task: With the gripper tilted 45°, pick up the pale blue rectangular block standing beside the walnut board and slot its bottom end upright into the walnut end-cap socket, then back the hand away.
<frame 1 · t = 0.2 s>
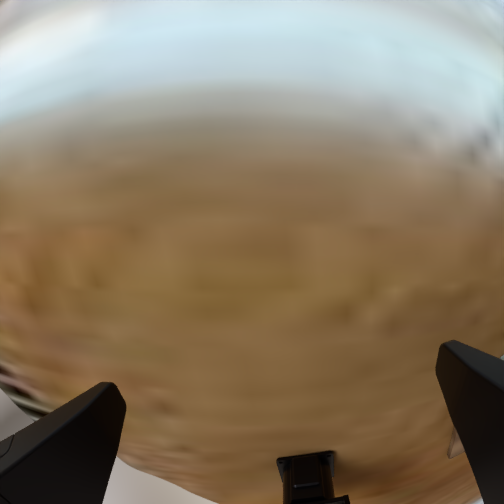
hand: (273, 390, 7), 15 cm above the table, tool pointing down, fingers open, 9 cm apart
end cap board: (502, 406, 26), on the table
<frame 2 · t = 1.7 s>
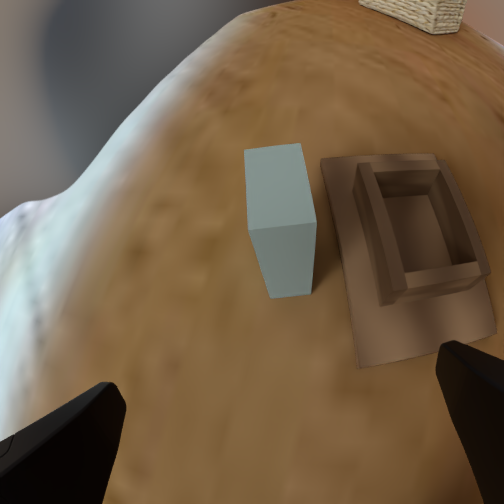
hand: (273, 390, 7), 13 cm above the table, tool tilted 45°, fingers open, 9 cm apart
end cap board: (408, 244, 22), on the table
storage basket: (408, 17, 45), on the table
pale blue rectangular block: (287, 265, 23), on the table
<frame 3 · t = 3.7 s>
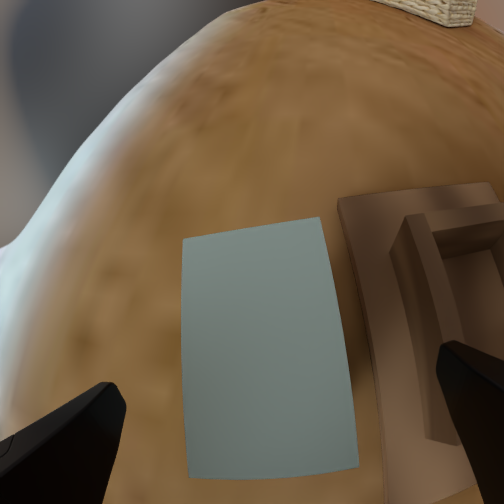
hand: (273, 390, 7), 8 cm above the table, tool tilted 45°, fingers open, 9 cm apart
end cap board: (466, 328, 13), on the table
storage basket: (416, 9, 38), on the table
pale blue rectangular block: (290, 379, 14), on the table
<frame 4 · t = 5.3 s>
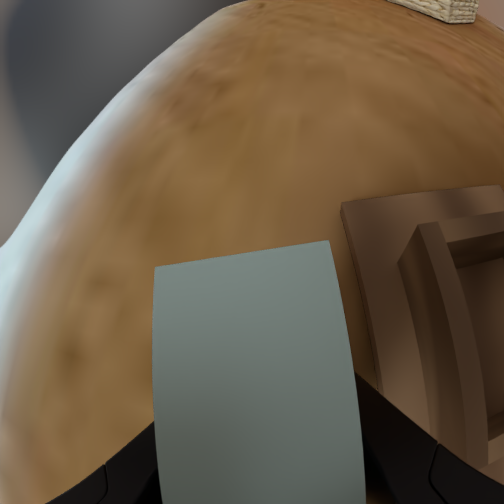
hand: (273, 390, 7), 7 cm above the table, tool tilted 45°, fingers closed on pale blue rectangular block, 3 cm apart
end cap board: (477, 343, 12), on the table
storage basket: (417, 6, 36), on the table
pale blue rectangular block: (289, 400, 12), on the table, touching gripper
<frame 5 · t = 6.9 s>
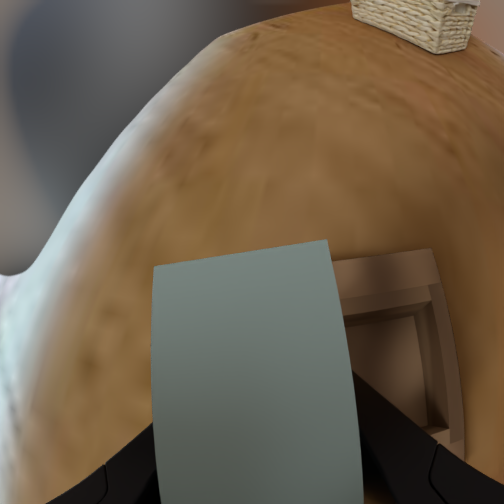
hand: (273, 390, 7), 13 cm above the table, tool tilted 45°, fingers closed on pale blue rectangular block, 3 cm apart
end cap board: (379, 380, 18), on the table
storage basket: (409, 32, 41), on the table
pale blue rectangular block: (288, 400, 12), point 7 cm above the table, touching gripper
when the fingers open (9 cm above the table, at t = 8.7 s): pale blue rectangular block stays where it is, resting on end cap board.
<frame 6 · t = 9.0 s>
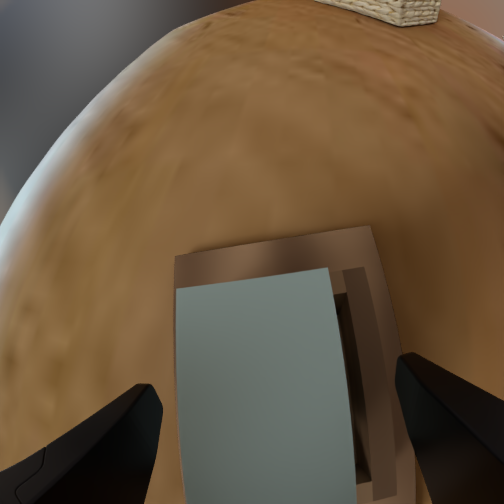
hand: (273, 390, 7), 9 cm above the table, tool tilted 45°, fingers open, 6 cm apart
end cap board: (291, 399, 14), on the table
storage basket: (374, 9, 39), on the table
pale blue rectangular block: (290, 401, 13), point 1 cm above the table, touching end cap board
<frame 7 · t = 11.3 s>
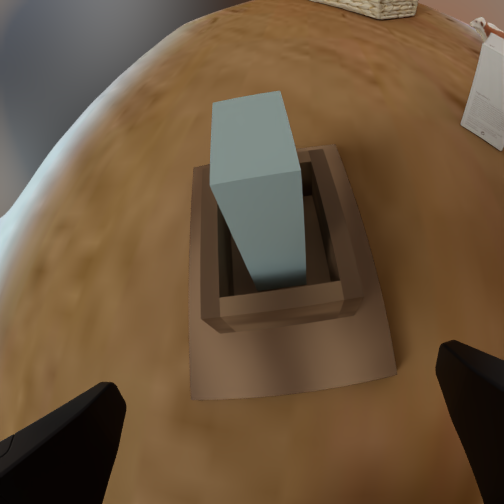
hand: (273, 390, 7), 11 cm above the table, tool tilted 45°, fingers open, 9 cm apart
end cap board: (278, 257, 20), on the table
storage basket: (360, 6, 44), on the table
bull figurine: (496, 64, 30), on the table
pale blue rectangular block: (277, 251, 19), point 1 cm above the table, touching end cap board
small box: (485, 125, 23), on the table
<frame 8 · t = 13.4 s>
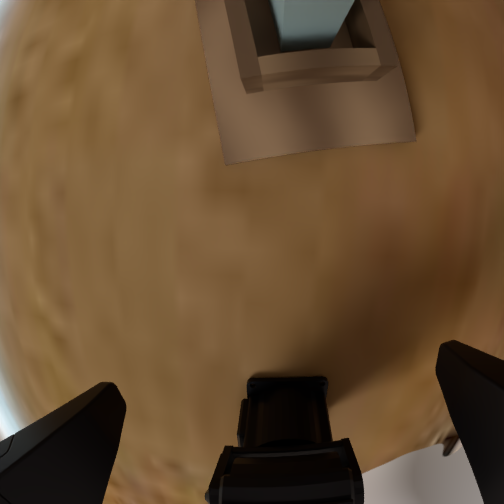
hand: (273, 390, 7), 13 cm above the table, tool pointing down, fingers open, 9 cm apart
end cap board: (295, 22, 15), on the table
pale blue rectangular block: (296, 16, 14), point 1 cm above the table, touching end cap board
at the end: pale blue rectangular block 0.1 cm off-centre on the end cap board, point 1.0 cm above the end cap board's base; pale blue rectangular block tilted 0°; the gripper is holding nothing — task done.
